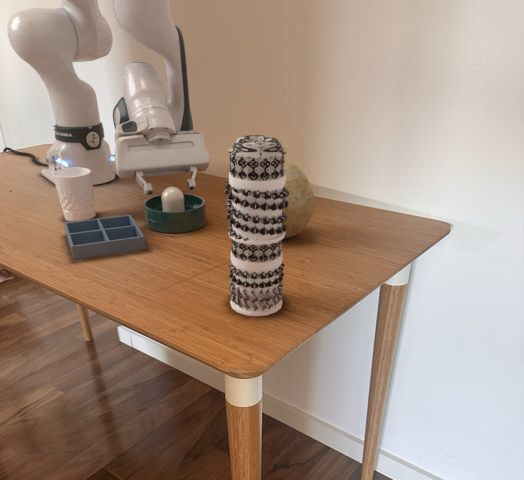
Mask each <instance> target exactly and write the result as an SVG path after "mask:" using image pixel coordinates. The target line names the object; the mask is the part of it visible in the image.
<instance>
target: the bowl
mask: <svg viewBox="0 0 524 480" xmlns="http://www.w3.org/2000/svg"><path fill="white" fill-rule="evenodd" d="M182 193H183V192H182ZM183 195H184V203H185V211H177V212H166V211H163V210H162V201H161V196H162V193H161V194H157V195H153V196H151V197H148V198H146V199H145V200H144V201H143V213H144V221H145V226H146V227H147V228H148V229H149V230H152V231H154V232H159V233H163V234H180V233H183V234H184V233H189V232H193V231H196V230H199V229H201V228H202V227H204V226H205V225H206V223H207V213H206V212H207V210H206V201H205V199H204V198H202V196H199V195H197V194H191V193H185V192H184V193H183Z"/></svg>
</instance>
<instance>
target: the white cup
mask: <svg viewBox="0 0 524 480" xmlns="http://www.w3.org/2000/svg"><path fill="white" fill-rule="evenodd" d="M52 174H53V178H54V182H55V184H54V185H55V189H56V194H57V196H58V200H59V203H60V207H61V208H62V213H63V217H64V219H65V220H66V221H67V222H75V221H83V220H91V219H94V217H96V216H97V213H96V201H95V192H94V185H93V183H92V175H91V170H90V169H87V168H80V167H73V168H64V169H59V170H56V171H54V172H53V173H52Z"/></svg>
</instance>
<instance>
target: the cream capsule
mask: <svg viewBox="0 0 524 480" xmlns="http://www.w3.org/2000/svg"><path fill="white" fill-rule="evenodd" d="M161 194H162V196H161V201H162V210H163V211H166V212H177V211H185V203H184V195H183V191H182V190H181V189H180V188H178V187H175V186H168V187H166V188H165V189H164V190H163V191H162V193H161Z"/></svg>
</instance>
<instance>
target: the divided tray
mask: <svg viewBox="0 0 524 480" xmlns="http://www.w3.org/2000/svg"><path fill="white" fill-rule="evenodd" d="M63 226H64V230H65V236H66V239H67V242H68V245H69V249H70V253H71V255H72V258H73V261H75V260H81V259H88V258H95V257H102V256H108V255H115V254H116V255H117V254H123V253H129V252H135V251H136V252H137V251H141V250H142V251H143V250H146V249H147V246H146V239H145V235H144V234H143V232H142V230H141V229H140V227H139V225H138V224H137V222H136V221H135V220H134V218H133V216H132V215H131V214H125V215H123V214H122V215H115V216H108V217H107V216H106V217H101V218H100V217H99V218H90V219H87V220H81V221H67V222H63Z"/></svg>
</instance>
